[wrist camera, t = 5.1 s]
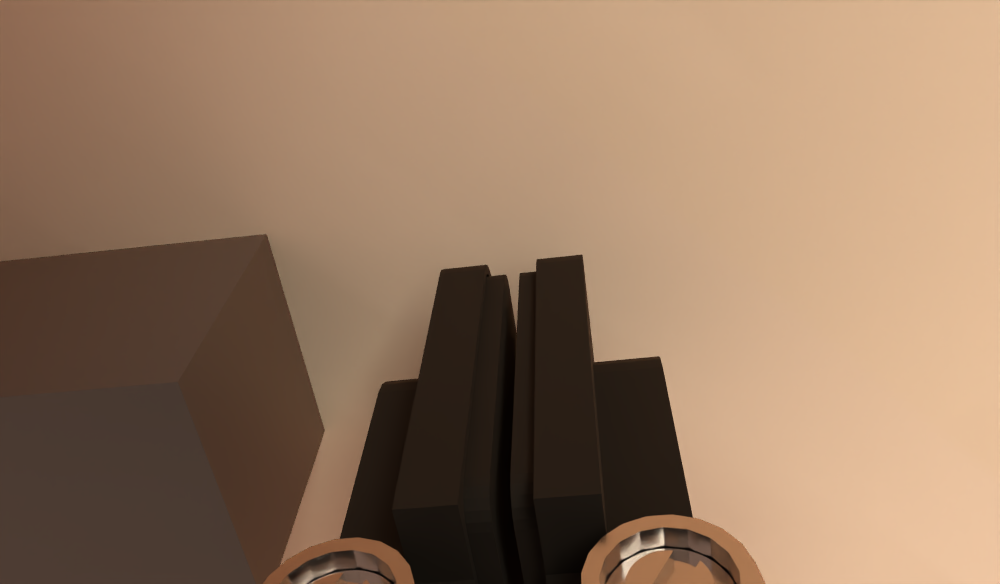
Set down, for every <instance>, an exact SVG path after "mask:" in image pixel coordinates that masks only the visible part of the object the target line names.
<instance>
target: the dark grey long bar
mask: <svg viewBox="0 0 1000 584" xmlns="http://www.w3.org/2000/svg"><path fill="white" fill-rule="evenodd" d="M324 431H325V430H324V427H323V423H322V420H321V417H320V413H319V410H318V407H317V403H316V400H315V396H314V393H313V390H312V386H311V383H310V380H309V376H308V373H307V369H306V366H305V363H304V359H303V356H302V352H301V349H300V346H299V342H298V339H297V336H296V332H295V329H294V325H293V322H292V319H291V315H290V312H289V308H288V305H287V302H286V298H285V295H284V292H283V288H282V285H281V281H280V278H279V275H278V271H277V268H276V264H275V261H274V258H273V254H272V251H271V248H270V244H269V241H268V237H267V234H263V235H254V236H244V237H234V238H225V239H215V240H205V241H196V242H186V243H176V244H167V245H157V246H147V247H137V248H128V249H118V250H108V251H99V252H89V253H79V254H70V255H60V256H50V257H41V258H31V259H21V260H12V261H2V262H0V584H263V583H264V581H265V580H266V579H267V577H268V576H269V575H270V574H271V573H272V572H274V571H275V570H276V569H277V568H278V567H279V566H280V564H281V561H282V558H283V554H284V551H285V548H286V545H287V542H288V539H289V536H290V533H291V530H292V527H293V524H294V521H295V518H296V515H297V512H298V509H299V506H300V503H301V500H302V497H303V494H304V491H305V488H306V485H307V482H308V479H309V476H310V473H311V470H312V467H313V464H314V461H315V458H316V455H317V452H318V449H319V446H320V443H321V440H322V437H323V434H324Z"/></svg>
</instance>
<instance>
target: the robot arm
mask: <svg viewBox="0 0 1000 584" xmlns="http://www.w3.org/2000/svg"><path fill="white" fill-rule="evenodd" d="M263 584H765V581H764V579H763V577H762V575H761V573H760V571H759V569H758V567H757V565H756V563H755V561H754V560H753V558H752V557H751V556H750V554H749V553H748V551H747V550H746V548H745V547H744V546H743V544H742V543H741V542H739V541H738V540H737V539H735V538H734V537H733V536H732V535H730V534H729V533H728V532H726V531H725V530H724V529H722V528H720V527H718V526H715V525H713V524H710V523H708V522H705V521H703V520H701V519H698V518H693V516H692V511H691V506H690V501H689V496H688V491H687V486H686V481H685V476H684V471H683V466H682V461H681V456H680V451H679V446H678V441H677V436H676V431H675V426H674V421H673V417H672V412H671V407H670V402H669V397H668V392H667V387H666V382H665V377H664V372H663V367H662V363H661V359H660V357H648V358H637V359H626V360H616V361H605V362H594V356H593V347H592V338H591V329H590V319H589V310H588V301H587V292H586V283H585V273H584V264H583V256H582V255H575V256H565V257H556V258H546V259H537V262H536V272H528V273H520V277H519V299H518V320H517V333H516V327H515V321H514V315H513V308H512V302H511V296H510V289H509V284H508V279H507V276H506V275H499V276H491V274H490V270H489V267H488V265H480V266H471V267H461V268H452V269H443V270H441V272H440V276H439V281H438V286H437V291H436V296H435V300H434V305H433V310H432V315H431V320H430V325H429V330H428V335H427V340H426V344H425V349H424V354H423V359H422V364H421V369H420V374H419V379H410V380H400V381H389V382H385V383H383V384H382V386H381V388H380V390H379V393H378V397H377V400H376V404H375V408H374V412H373V416H372V419H371V423H370V427H369V431H368V434H367V438H366V442H365V446H364V450H363V453H362V457H361V461H360V465H359V468H358V472H357V476H356V480H355V484H354V487H353V491H352V495H351V499H350V502H349V506H348V510H347V514H346V518H345V521H344V525H343V529H342V533H341V536H340V539H334V540H331V541H327V542H324V543H321V544H318V545H315V546H311V547H309V548H307V549H305V550H304V551H302V552H300V553H298V554H296V555H295V556H293V557H291V558H289V559H287V560H286V561H285V562H284V563H283V564H282V565H280V566H279V567H278V568H277V569H276V570H275V571H274V572H272V573H271V574H270V575H269V576H268V577H267V579H266V580H265V581H264V583H263Z"/></svg>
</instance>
